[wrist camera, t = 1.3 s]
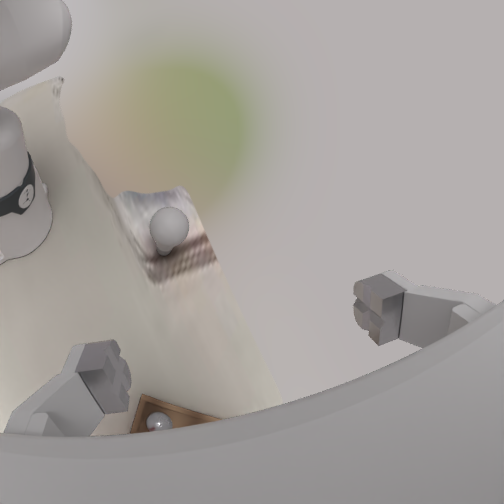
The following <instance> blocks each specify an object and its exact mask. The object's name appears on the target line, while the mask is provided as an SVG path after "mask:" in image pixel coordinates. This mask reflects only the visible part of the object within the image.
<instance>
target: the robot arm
mask: <svg viewBox="0 0 504 504" xmlns="http://www.w3.org/2000/svg"><path fill="white" fill-rule="evenodd" d="M71 27H72V20H71V15H70V12H69V9H68V7H67V6H66V4H65V3H64V2H63V1H62V0H0V91H1V90H3V89H5V88H7V87H10V86H12V85H14V84H17V83H19V82H21V81H24V80H26V79H28V78H29V77H31V76H33V75H35V74H36V73H38V72H40V71H42V70H43V69H45V68H47V67H49V66H50V65H52V64H54V63H56V62H57V61H58V60H59V59H60V57H61V56H62V54H63V52H64V51H65V49H66V46H67V44H68V42H69V39H70V35H71ZM47 197H48V188H47V186H46V184H45V183H42V182H41V179H40V177H39V174H38V172H37V169H36V167H35V166H34V164H33V161H32V159H31V156H30V154H29V152H28V151H27V148H26V144H25V139H24V134H23V128H22V123H21V121H20V119H19V117H18V116H17V115H16V114H15V113H14V112H13V111H11V110H9V109H7V108H4V107H1V106H0V264H2V263H3V262H5V261H6V260H8V259H12V258H18V257H22V256H25V255H27V254H29V253H30V252H32V251H33V250H35V249H36V248H37V247H38V246H39V245H40V244H41V243H42V242H43V241H44V239H45V238H46V236H47V234H48V232H49V230H50V227H51V223H52V209H51V206H50V204H49V202H48V199H47ZM354 295H355V296H356V297H357V299H356V301H355V303H354V305H353V306H354V316H355V319H356V322H357V323H358V325H359V326H360V327H361V328H362V329H364V330H368V331H369V336H370V338H372V340H373V341H374V342H375V343H376V344H377V345H378V346H380V345H383V344H385V343H388V342H390V341H393V340H395V339H398V338H399V339H400V340H403V341H405V342H408V343H410V344H413V345H416V346H418V347H421V348H423V349H421V350H419V351H417V352H415V353H413V354H411V355H409V356H407V357H404V358H402V359H400V360H398V361H396V362H394V363H392V364H389V365H387V366H385V367H383V368H381V369H378V370H376V371H373V372H371V373H369V374H366V375H364V376H362V377H359V378H357V379H354V380H352V381H349V382H346V383H344V384H341V385H339V386H336V387H333V388H330V389H328V390H325V391H322V392H319V393H317V394H313V395H310V396H308V397H304V398H301V399H298V400H295V401H292V402H288V403H285V404H282V405H278V406H275V407H271V408H268V409H264V410H260V411H257V412H253V413H249V414H245V415H241V416H236V417H232V418H228V419H223V420H218V421H213V422H208V423H203V424H198V425H192V426H186V427H180V428H174V429H167V430H160V431H152V432H143V433H133V434H122V435H107V436H90V435H91V434H92V432H93V431H94V430H95V428H96V427H97V425H98V424H99V423H100V421H101V420H102V419H103V417H104V416H105V415H104V414H110V413H118V412H126V411H128V404H129V395H128V393H127V391H128V390H129V389H130V387H131V374H130V370H129V367H128V365H127V363H126V361H125V360H124V359H123V358H121V357H120V356H119V355H120V348H119V346H118V344H117V342H116V341H115V340H114V339H113V340H106V341H99V342H92V343H84V344H79V345H75V346H73V347H72V350H71V352H70V354H69V356H68V359H67V361H66V363H65V365H64V368H63V370H62V372H61V374H58V375H56V376H55V377H54V378H52V379H51V380H50V381H49V382H47V383H46V384H45V385H44V386H43V387H41V388H40V389H39V390H38V391H36V392H35V393H34V394H33V395H32V396H30V397H29V398H28V399H27V400H26V401H24V402H23V403H22V404H21V405H20V406H18V407H17V408H16V409H15V410H14V411H13V412H12V414H11V416H10V419H9V421H8V423H7V426H6V428H5V430H4V433H0V504H504V300H503V301H502V302H500V303H499V304H497V305H496V304H494V303H492V302H490V301H489V300H487V299H486V298H484V297H482V296H481V295H479V294H475V293H469V292H463V291H456V290H450V289H443V288H436V287H430V286H424V285H421V286H417V285H416V284H414V283H413V282H411V281H409V280H408V279H406V278H405V277H403V276H401V275H400V274H398V273H397V272H395V271H393V270H389V271H386V272H383V273H381V274H378V275H375V276H372V277H370V278H366V279H363V280H360V281H357V282H355V284H354Z"/></svg>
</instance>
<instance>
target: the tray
mask: <svg viewBox="0 0 504 504" xmlns="http://www.w3.org/2000/svg"><path fill="white" fill-rule="evenodd" d="M152 412H162V413H164V414H166V415H167V416H169V418H170V419H171V421H172V425H173V426H172V429H174V428H180V427H186V426H192V425H198V424H203V423H208V422H213V421H218V420H223V419H219V418H215V417H212V416H208V415H204V414H201V413H198V412H194V411H191V410H188V409H185V408H181V407H178V406H175V405H172V404H169V403H166V402H163V401H161V400H158V399H155V398H152V397H150V396H147V395H144V394H142V396H141V399H140V402H139V405H138V408H137V412H136V415H135V418H134V421H133V425H132V428H131V431H130V434H133V433H143V432H150V431H149V430H148V428H147V425H146V419H147V417H148V415H149V414H151V413H152Z"/></svg>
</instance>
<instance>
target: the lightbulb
mask: <svg viewBox="0 0 504 504" xmlns="http://www.w3.org/2000/svg"><path fill="white" fill-rule="evenodd" d="M188 232H189V222H188V219H187V217H186V215H185V214H184V213H183V212H182V211H181V210H179V209H177V208H174V207H165V208H162V209H160V210H158V211H157V212H156V213H155V214H154V215H153V217H152V219H151V221H150V233H151V236H152V238H153V239H154V240H155V241H156V245H157V252H158V253H159V254H160V255H168V254H169V253H170V252H171V249H173V247H174V246H177V245H179V244H180V243H182V242H183V241H184V239H185V238H186V237H187V235H188Z"/></svg>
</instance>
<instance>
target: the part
mask: <svg viewBox="0 0 504 504" xmlns="http://www.w3.org/2000/svg"><path fill="white" fill-rule="evenodd" d="M146 425H147V428H148V430H149V431H150V432H152V431H160V430H167V429H172V426H173V425H172V421H171V419H170V418H169V416H167V415H166V414H164V413H162V412H152V413H151V414H149V415H148V417H147V419H146Z"/></svg>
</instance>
